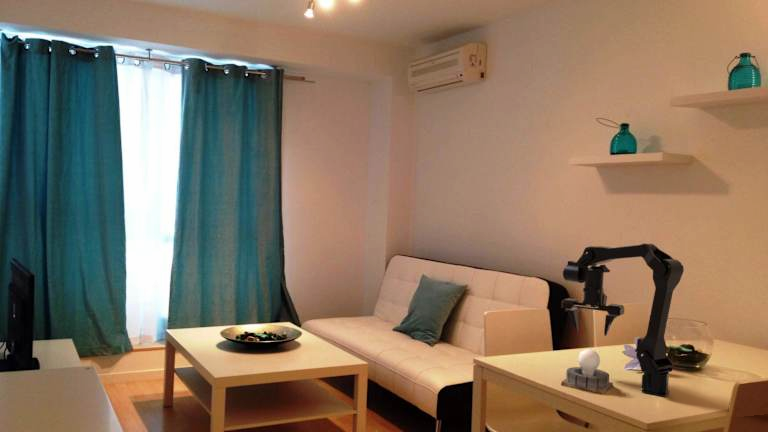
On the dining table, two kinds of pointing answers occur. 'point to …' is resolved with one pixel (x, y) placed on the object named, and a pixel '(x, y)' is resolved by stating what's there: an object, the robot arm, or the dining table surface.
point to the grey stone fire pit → (587, 380)
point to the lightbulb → (588, 361)
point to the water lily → (631, 356)
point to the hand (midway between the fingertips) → (591, 333)
